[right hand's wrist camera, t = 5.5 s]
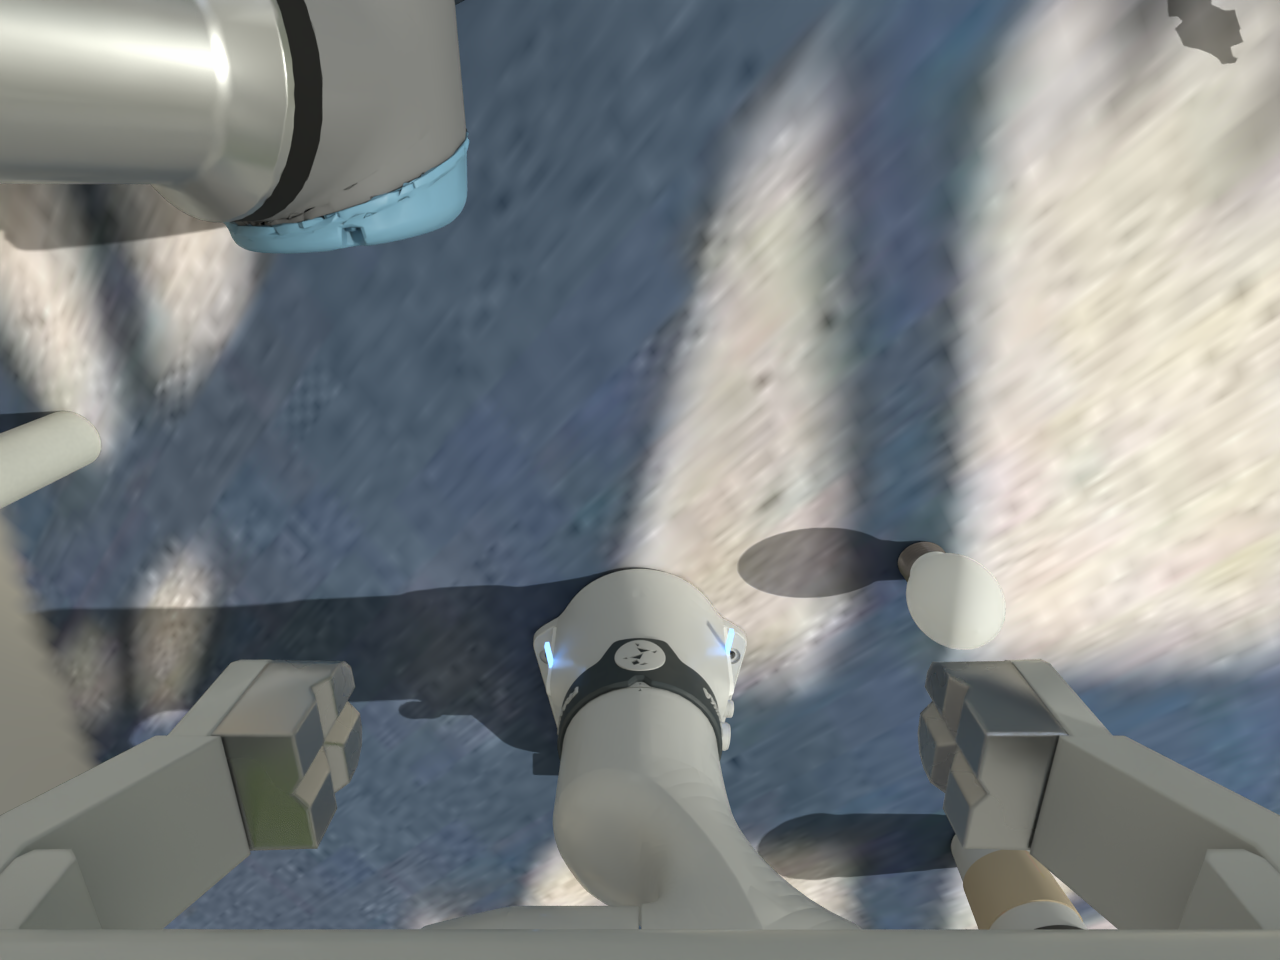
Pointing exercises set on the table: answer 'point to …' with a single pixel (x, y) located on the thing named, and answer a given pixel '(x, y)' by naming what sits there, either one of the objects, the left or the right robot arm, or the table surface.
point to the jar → (44, 453)
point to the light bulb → (951, 596)
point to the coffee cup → (1013, 891)
